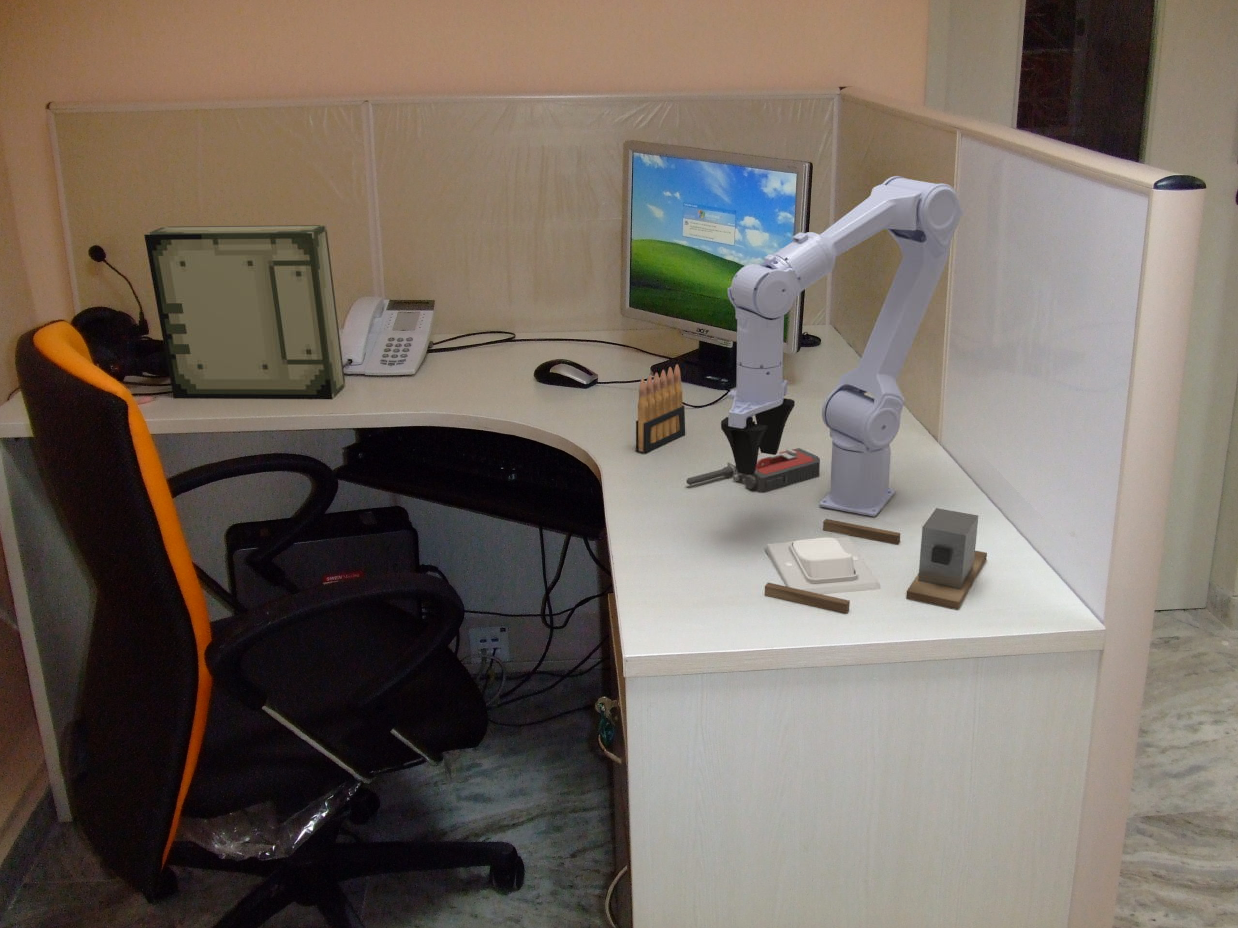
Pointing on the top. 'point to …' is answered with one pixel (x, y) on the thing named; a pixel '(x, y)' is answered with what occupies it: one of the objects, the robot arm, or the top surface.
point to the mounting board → (945, 588)
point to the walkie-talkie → (771, 470)
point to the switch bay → (825, 600)
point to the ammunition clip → (660, 411)
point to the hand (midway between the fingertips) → (757, 463)
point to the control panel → (247, 311)
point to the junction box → (948, 548)
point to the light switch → (822, 565)
